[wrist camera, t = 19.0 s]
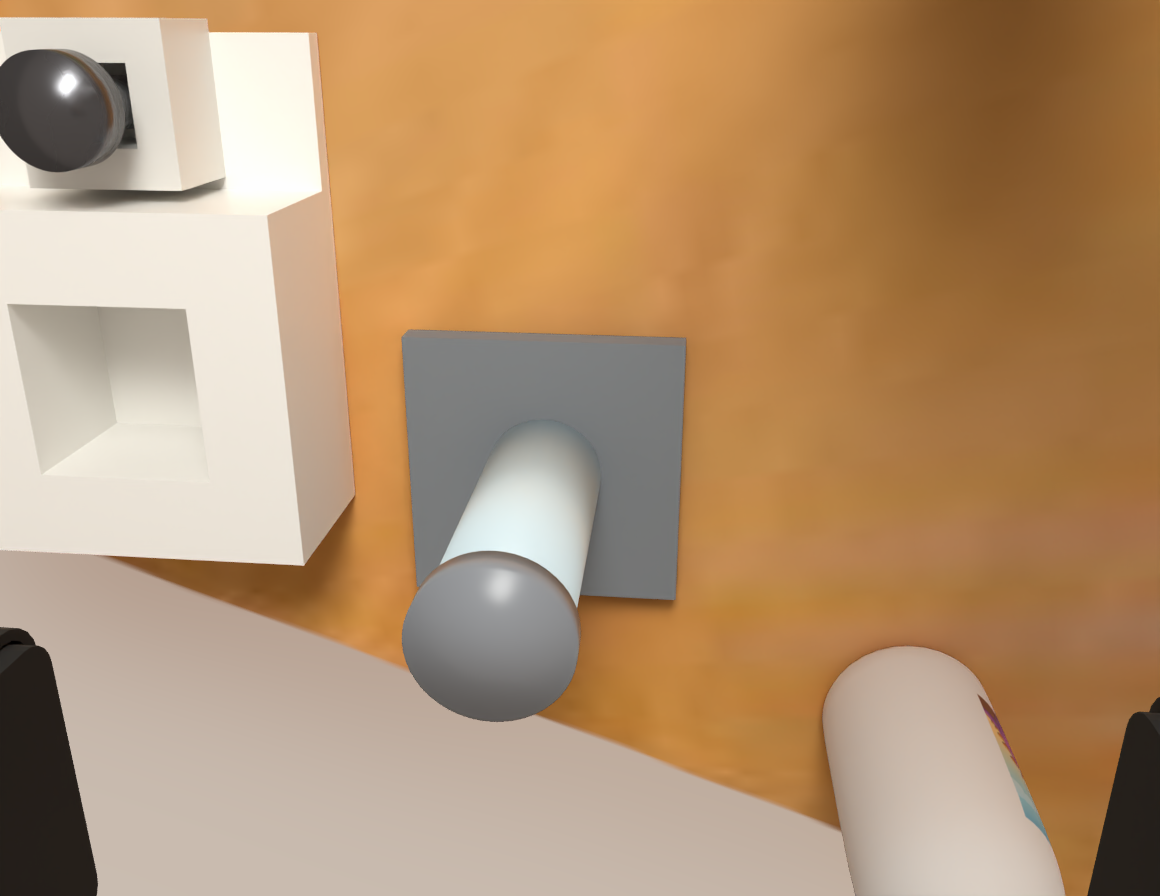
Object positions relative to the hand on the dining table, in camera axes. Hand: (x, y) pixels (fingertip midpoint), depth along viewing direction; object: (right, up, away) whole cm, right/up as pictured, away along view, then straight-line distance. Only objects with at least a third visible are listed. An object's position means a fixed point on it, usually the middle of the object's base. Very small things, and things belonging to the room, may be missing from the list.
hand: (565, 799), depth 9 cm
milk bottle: (+16, -9, +42) cm, 45 cm away
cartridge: (-1, +2, +37) cm, 37 cm away
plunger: (-17, +17, +33) cm, 41 cm away
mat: (-1, +2, +38) cm, 39 cm away
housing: (-17, +11, +37) cm, 42 cm away
